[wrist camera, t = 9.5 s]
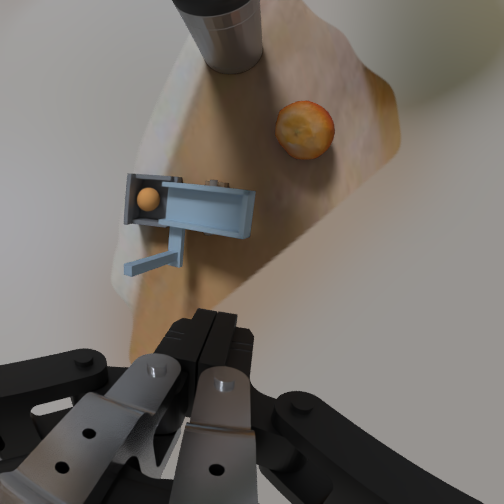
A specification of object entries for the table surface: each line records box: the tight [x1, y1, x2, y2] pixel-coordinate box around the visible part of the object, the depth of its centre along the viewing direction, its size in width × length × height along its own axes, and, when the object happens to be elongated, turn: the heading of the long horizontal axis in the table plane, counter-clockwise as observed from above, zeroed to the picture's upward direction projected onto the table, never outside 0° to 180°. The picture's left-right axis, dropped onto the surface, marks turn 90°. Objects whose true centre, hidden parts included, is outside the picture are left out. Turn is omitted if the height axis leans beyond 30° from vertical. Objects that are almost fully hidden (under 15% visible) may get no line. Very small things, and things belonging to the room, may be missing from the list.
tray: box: [124, 174, 182, 227], centre depth 41 cm, size 7×7×5 cm
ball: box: [137, 188, 160, 211], centre depth 41 cm, size 4×4×4 cm
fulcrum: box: [204, 180, 229, 235], centre depth 40 cm, size 7×3×6 cm, turn 173°
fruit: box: [275, 101, 335, 159], centre depth 37 cm, size 8×8×8 cm
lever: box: [124, 182, 256, 277], centre depth 33 cm, size 11×12×10 cm
